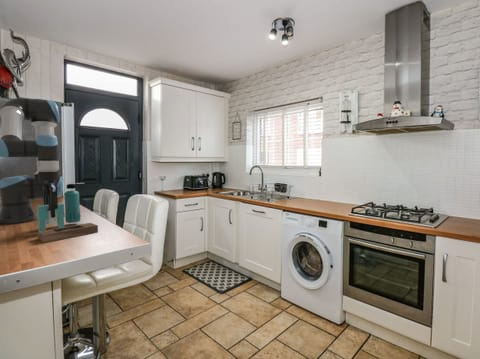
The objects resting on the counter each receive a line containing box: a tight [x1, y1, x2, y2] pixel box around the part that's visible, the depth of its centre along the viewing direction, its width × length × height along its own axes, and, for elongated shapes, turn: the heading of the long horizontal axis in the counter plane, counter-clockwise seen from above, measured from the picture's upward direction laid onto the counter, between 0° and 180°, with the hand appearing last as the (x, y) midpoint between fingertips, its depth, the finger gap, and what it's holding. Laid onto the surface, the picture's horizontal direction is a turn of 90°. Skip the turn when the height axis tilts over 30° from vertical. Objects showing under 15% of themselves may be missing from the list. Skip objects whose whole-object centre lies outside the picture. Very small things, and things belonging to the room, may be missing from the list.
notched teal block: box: [36, 202, 65, 231], centre depth 119 cm, size 3×9×12 cm, turn 140°
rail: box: [36, 222, 99, 244], centre depth 114 cm, size 8×20×3 cm, turn 140°
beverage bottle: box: [63, 183, 81, 224], centre depth 132 cm, size 6×7×20 cm
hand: (51, 223), depth 119 cm, fingers closed on notched teal block, 3 cm apart
